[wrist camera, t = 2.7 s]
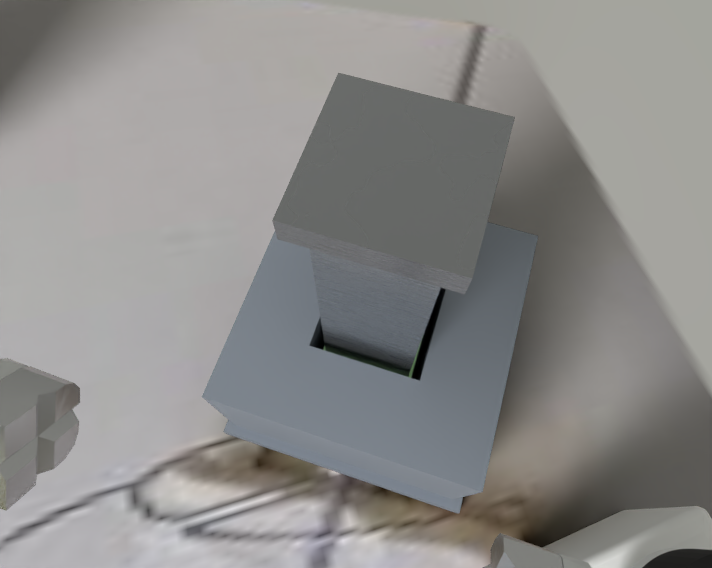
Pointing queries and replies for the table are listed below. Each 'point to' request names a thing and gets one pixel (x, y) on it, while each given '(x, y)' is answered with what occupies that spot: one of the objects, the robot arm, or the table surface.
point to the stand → (377, 377)
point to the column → (391, 212)
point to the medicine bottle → (644, 539)
